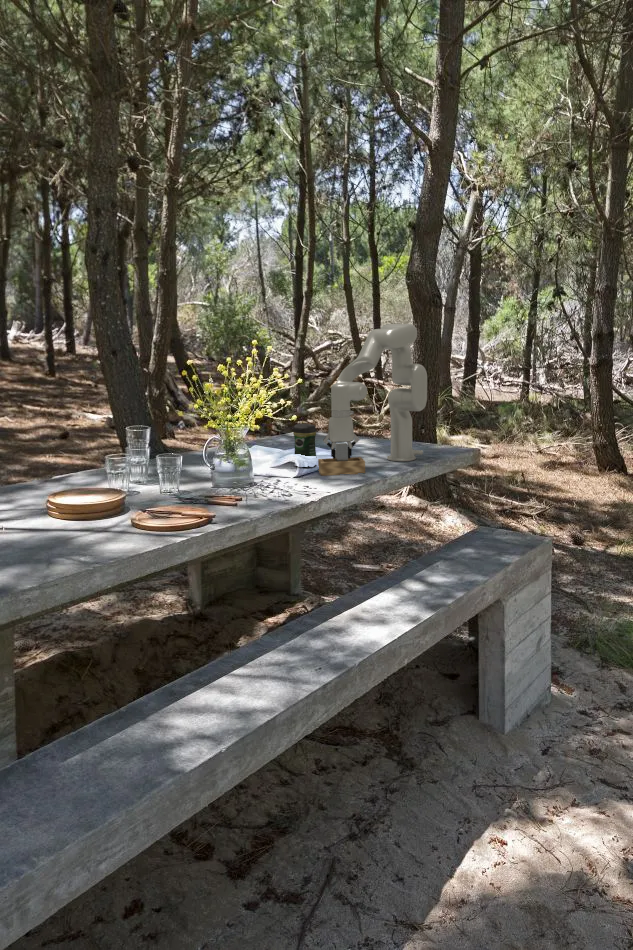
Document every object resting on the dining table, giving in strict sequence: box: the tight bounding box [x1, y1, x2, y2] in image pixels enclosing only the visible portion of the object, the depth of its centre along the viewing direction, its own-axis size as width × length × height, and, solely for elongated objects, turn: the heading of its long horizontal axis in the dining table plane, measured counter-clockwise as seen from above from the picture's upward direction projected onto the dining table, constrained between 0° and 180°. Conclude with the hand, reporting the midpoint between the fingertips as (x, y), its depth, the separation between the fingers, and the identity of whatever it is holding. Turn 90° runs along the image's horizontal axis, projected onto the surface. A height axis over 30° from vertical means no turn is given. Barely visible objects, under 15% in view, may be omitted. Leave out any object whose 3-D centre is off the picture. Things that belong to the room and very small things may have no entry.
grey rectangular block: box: [334, 442, 348, 462], centre depth 334 cm, size 4×4×11 cm
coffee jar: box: [293, 423, 317, 457], centre depth 348 cm, size 10×8×19 cm
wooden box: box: [317, 456, 366, 477], centre depth 334 cm, size 18×10×5 cm, turn 97°
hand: (341, 457), depth 334 cm, fingers open, 5 cm apart
